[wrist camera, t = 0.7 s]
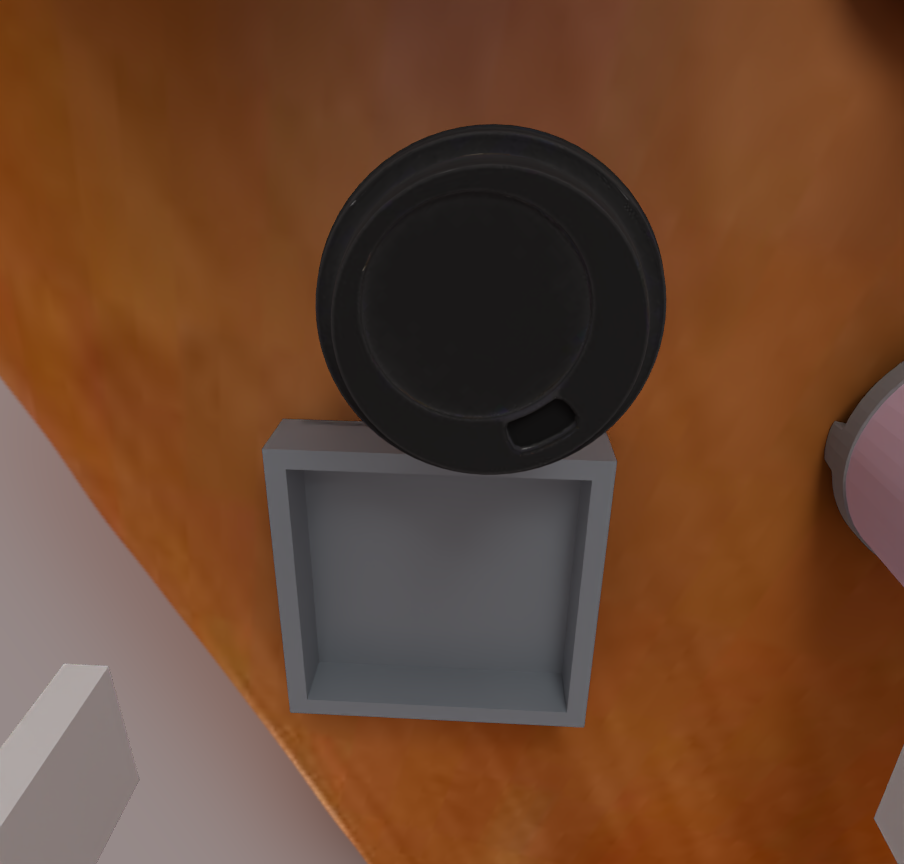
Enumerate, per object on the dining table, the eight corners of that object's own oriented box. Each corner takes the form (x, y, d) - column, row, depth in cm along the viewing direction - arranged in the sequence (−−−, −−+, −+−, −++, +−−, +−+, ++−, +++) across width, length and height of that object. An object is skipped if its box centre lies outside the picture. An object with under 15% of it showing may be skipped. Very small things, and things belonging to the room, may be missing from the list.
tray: (282, 418, 35) (262, 448, 32) (605, 429, 34) (616, 461, 31) (305, 666, 42) (290, 712, 38) (576, 680, 41) (584, 727, 38)
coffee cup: (517, 378, 34) (535, 557, 20) (345, 270, 32) (235, 384, 18) (642, 205, 30) (768, 277, 16) (456, 73, 28) (424, 31, 15)
